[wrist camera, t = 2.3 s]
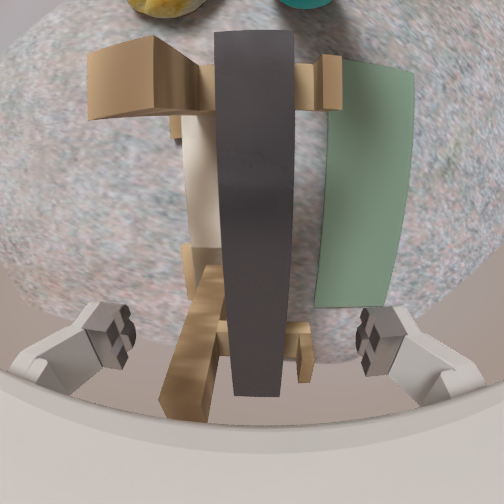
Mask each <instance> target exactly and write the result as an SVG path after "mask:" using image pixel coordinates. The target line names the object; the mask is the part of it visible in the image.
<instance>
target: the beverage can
mask: <svg viewBox="0 0 504 504" xmlns="http://www.w3.org/2000/svg"><path fill="white" fill-rule="evenodd" d="M280 1H281V2H282V3H284V4H286V5H287V6H290V7H292V8H296V9H313V8H318V7H321V6H324V5H326V4H328V3H329V2H331V1H332V0H280Z"/></svg>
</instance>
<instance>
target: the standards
mask: <svg viewBox="0 0 504 504" xmlns="http://www.w3.org/2000/svg"><path fill="white" fill-rule="evenodd" d="M294 67H295V110H307V111H322V112H327V111H337V110H342V56H337V55H328V54H322V55H321V56H320V57H319V58H318V60H317V61H316V62H315V63H314V64H303V63H294ZM87 104H88V121H89V120H98V119H108V118H121V117H137V116H169V118H170V138H171V139H175V138H182V149H183V165H184V179H185V192H186V203H187V214H188V224H189V234H190V243H191V244H182V246H181V253H182V260H183V268H184V274H185V281H186V288H187V294H188V300H193V301H192V304H191V306H190V309H189V312H188V315H187V317H186V320H185V323H184V326H183V328H182V331H181V334H180V337H179V340H178V343H177V345H176V349H175V352H174V354H173V357H172V360H171V363H170V366H169V369H168V372H167V375H166V377H165V381H164V384H163V387H162V390H161V393H160V396H159V399H158V400H159V402H160V405H161V407H162V408H163V411H164V413H165V415H166V417H167V418H168V419H175V420H183V421H191V422H201V423H207V422H208V416H209V410H210V405H211V399H212V394H213V388H214V382H215V377H216V372H217V366H218V360H219V356H230V349H229V339H228V327H227V321H226V318H227V315H226V303H225V290H224V277H223V263H222V248H221V232H220V214H219V195H218V174H217V149H216V118H215V64H212V65H201V66H198V65H197V64H196V63H194V62H193V61H191V60H190V59H189V58H187V57H186V56H184V55H183V54H181V53H180V52H179V51H177V50H176V49H174V48H173V47H171V46H170V45H168V44H167V43H165V42H164V41H162V40H161V39H159V38H157V37H156V36H154V35H152V36H147V37H143V38H139V39H135V40H131V41H127V42H123V43H120V44H116V45H113V46H110V47H106V48H103V49H100V50H97V51H94V52H91V53H88V58H87ZM283 357H296V363H297V375H298V383H310V380H311V376H312V372H313V367H314V362H315V356H314V349H313V343H312V337H311V330H310V324H309V322H286V333H285V344H284V356H283Z"/></svg>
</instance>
